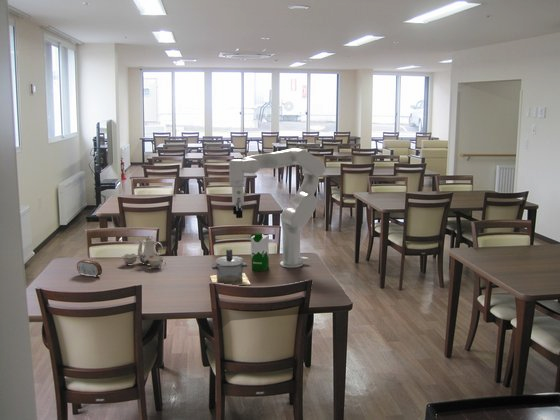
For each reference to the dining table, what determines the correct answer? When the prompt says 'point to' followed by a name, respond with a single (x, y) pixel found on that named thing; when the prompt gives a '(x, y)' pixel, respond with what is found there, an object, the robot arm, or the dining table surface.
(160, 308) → the dining table surface
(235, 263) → the lid
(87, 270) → the tin
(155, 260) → the chinaware
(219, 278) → the pot
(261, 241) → the soya milk
